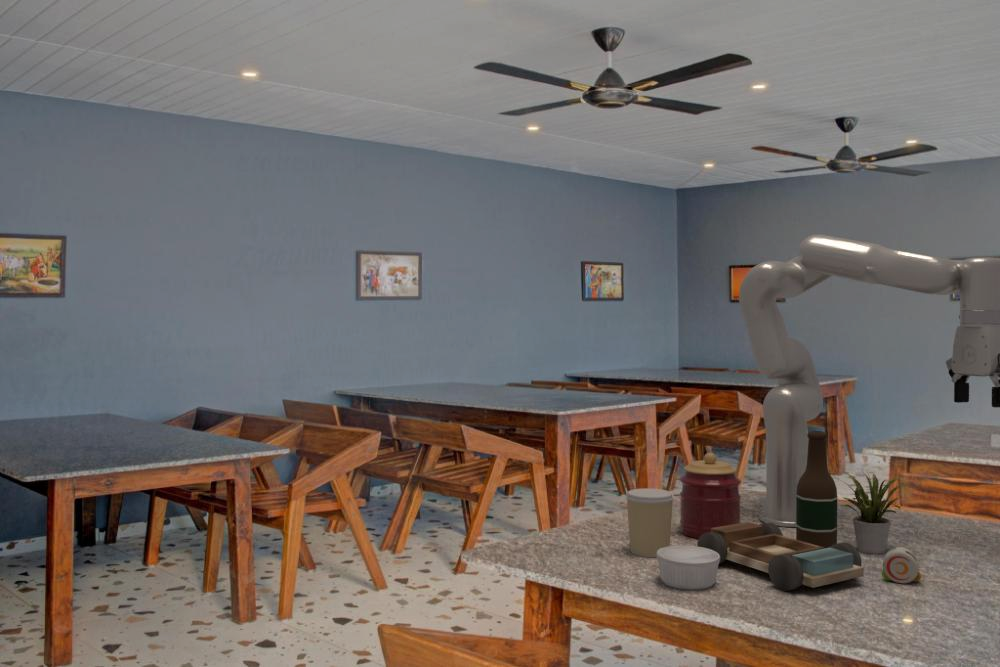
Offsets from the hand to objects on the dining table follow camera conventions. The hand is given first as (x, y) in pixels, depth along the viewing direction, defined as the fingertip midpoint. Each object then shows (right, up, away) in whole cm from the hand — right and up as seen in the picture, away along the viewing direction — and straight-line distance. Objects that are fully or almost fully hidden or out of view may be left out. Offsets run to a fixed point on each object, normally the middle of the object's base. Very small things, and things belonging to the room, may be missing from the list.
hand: (979, 404), depth 177 cm
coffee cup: (-66, -30, 0) cm, 73 cm away
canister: (-51, -30, +15) cm, 60 cm away
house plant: (-20, -30, 0) cm, 36 cm away
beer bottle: (-32, -30, +1) cm, 44 cm away
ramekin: (-63, -30, -20) cm, 73 cm away
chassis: (-45, -30, -13) cm, 55 cm away
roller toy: (-25, -30, -20) cm, 44 cm away
